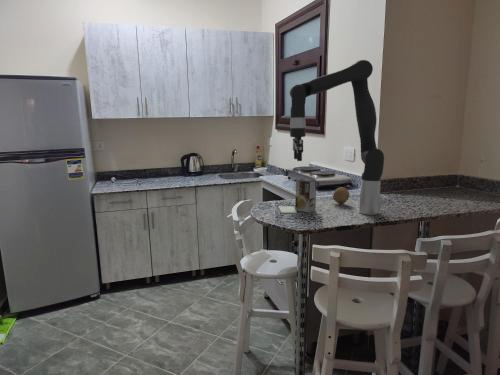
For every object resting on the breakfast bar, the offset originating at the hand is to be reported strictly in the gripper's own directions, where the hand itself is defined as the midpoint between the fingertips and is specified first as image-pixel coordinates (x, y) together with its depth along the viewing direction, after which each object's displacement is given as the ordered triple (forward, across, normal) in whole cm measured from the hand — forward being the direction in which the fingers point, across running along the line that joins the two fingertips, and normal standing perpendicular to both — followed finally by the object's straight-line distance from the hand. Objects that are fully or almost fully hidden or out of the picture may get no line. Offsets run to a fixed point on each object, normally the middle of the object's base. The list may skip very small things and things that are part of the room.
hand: (297, 160), depth 178 cm
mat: (+27, +4, +5) cm, 28 cm away
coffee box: (+27, +4, -5) cm, 28 cm away
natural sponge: (+28, +16, -27) cm, 42 cm away
